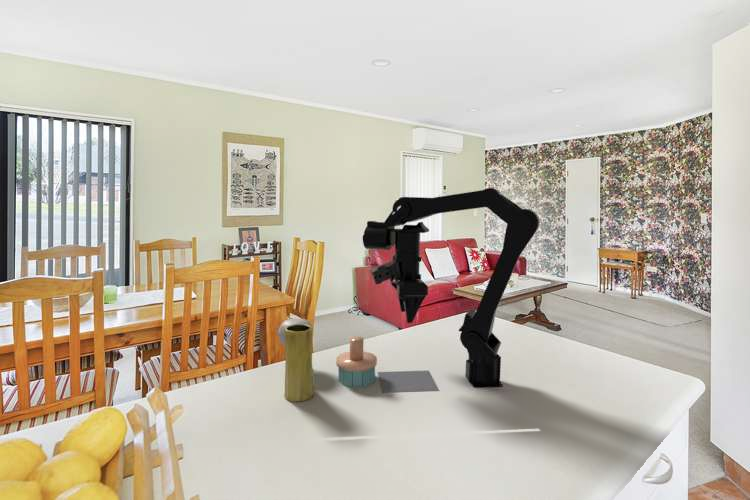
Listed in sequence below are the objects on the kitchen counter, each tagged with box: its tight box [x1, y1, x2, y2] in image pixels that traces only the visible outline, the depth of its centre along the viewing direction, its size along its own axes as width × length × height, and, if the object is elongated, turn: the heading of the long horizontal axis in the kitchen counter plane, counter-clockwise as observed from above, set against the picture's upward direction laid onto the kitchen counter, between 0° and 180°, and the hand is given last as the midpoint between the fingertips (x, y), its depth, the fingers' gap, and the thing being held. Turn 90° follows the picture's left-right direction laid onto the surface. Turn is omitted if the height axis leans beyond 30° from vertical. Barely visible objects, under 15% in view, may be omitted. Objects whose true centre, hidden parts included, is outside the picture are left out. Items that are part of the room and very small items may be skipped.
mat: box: [377, 370, 440, 394], centre depth 89 cm, size 12×10×1 cm
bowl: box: [338, 366, 376, 388], centre depth 89 cm, size 8×8×4 cm
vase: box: [283, 324, 315, 402], centre depth 82 cm, size 6×6×14 cm
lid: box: [335, 336, 378, 371], centre depth 89 cm, size 9×9×6 cm
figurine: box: [277, 317, 314, 347], centre depth 95 cm, size 8×8×12 cm
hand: (406, 316), depth 95 cm, fingers open, 9 cm apart
